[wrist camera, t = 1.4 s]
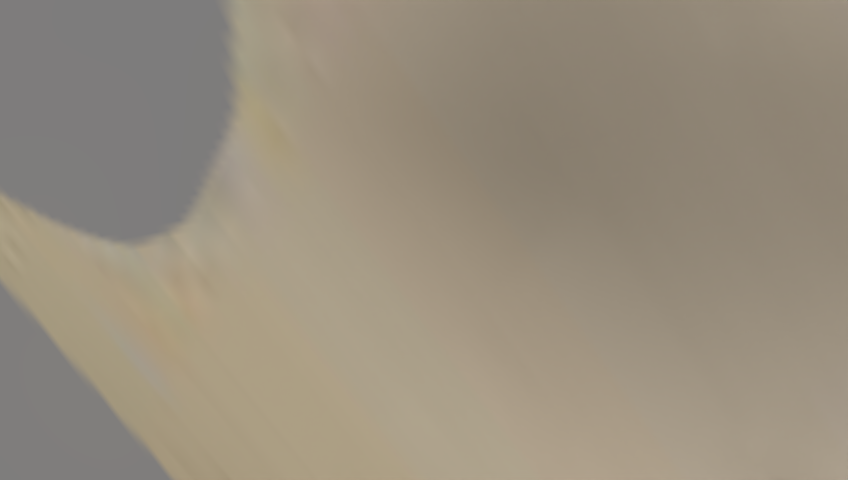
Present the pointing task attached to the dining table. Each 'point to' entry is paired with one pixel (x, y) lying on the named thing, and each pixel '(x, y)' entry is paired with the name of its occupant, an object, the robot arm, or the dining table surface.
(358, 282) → the dining table surface
